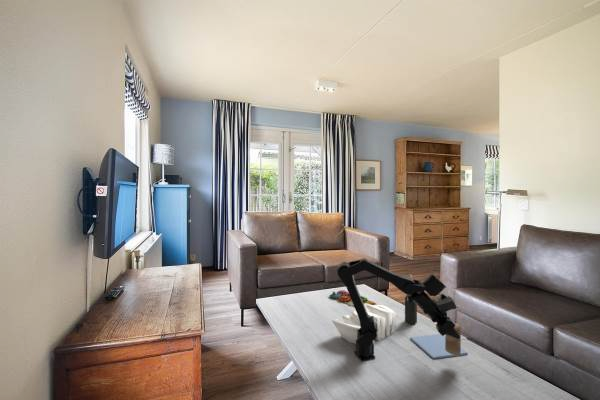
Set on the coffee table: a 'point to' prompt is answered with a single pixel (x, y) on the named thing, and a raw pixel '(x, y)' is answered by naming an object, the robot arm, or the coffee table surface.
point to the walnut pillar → (453, 342)
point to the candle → (410, 311)
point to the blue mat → (434, 346)
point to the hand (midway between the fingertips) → (456, 334)
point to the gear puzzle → (347, 298)
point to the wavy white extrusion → (381, 316)
